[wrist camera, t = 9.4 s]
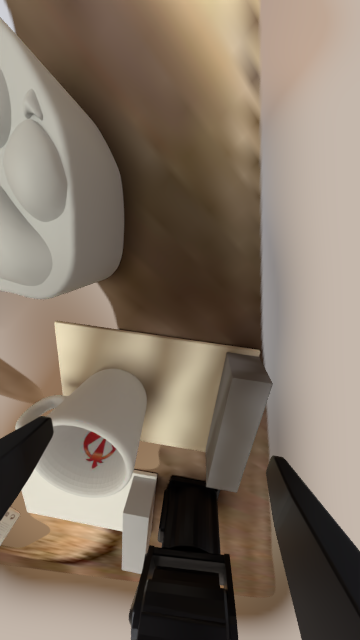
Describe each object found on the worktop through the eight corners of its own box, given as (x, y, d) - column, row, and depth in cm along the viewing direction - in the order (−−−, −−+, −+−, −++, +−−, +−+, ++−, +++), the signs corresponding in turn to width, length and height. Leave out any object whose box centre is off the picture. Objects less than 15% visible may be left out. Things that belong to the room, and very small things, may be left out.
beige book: (258, 349, 19) (274, 378, 15) (229, 453, 24) (235, 495, 20) (56, 320, 20) (20, 339, 16) (68, 425, 25) (42, 460, 21)
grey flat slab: (157, 474, 27) (149, 515, 23) (150, 533, 32) (143, 576, 28) (13, 447, 28) (-19, 482, 24) (29, 509, 33) (4, 546, 29)
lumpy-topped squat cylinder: (19, 273, 19) (-113, 295, 11) (-19, 91, 15) (-287, -95, 7) (126, 283, 19) (67, 312, 10) (121, 94, 14) (11, -111, 6)
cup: (64, 410, 24) (2, 485, 17) (54, 350, 21) (-26, 408, 14) (154, 422, 23) (132, 506, 16) (156, 362, 20) (130, 430, 13)
